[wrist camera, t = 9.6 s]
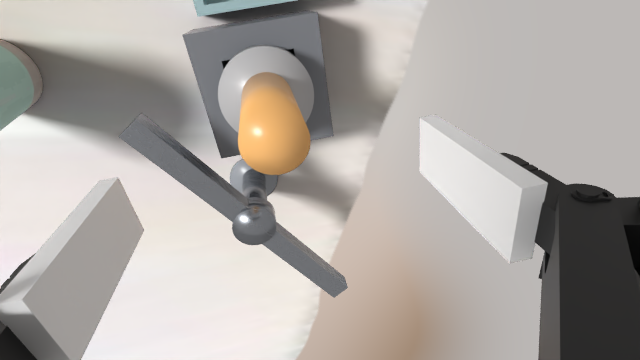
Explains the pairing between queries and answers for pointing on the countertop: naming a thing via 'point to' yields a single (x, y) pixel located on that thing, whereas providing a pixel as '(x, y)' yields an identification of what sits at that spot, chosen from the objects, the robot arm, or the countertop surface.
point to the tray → (230, 5)
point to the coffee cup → (17, 83)
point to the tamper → (268, 107)
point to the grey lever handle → (232, 201)
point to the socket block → (228, 39)
